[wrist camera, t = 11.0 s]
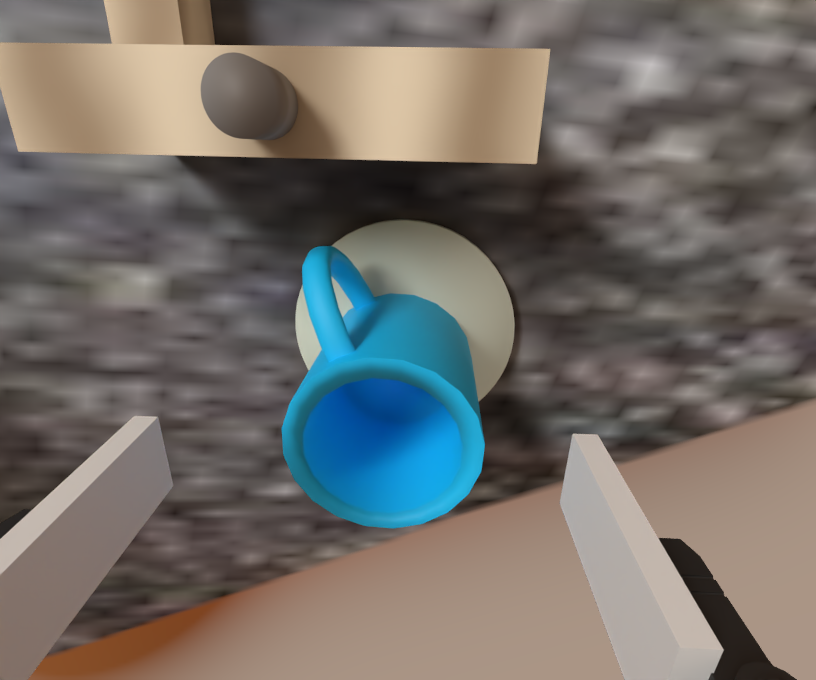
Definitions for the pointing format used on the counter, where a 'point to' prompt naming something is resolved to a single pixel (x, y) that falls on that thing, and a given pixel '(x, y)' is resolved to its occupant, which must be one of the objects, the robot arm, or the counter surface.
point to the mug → (382, 404)
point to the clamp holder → (268, 95)
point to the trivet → (428, 287)
